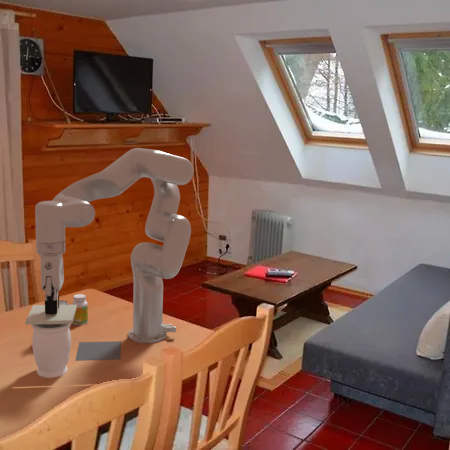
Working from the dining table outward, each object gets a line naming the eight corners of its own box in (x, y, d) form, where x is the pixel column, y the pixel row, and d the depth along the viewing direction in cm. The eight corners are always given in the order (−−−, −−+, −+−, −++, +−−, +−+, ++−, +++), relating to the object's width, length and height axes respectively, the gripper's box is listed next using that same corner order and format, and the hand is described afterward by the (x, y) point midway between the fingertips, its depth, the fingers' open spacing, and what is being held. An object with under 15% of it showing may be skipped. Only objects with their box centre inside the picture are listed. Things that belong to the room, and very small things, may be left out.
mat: (121, 342, 180) (121, 341, 180) (120, 360, 167) (120, 359, 167) (79, 343, 178) (79, 342, 178) (75, 361, 165) (75, 360, 165)
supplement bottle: (84, 326, 191) (83, 299, 189) (69, 324, 192) (68, 297, 190) (90, 320, 196) (90, 294, 194) (75, 318, 197) (75, 292, 195)
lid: (76, 307, 162) (76, 284, 161) (72, 323, 151) (71, 299, 149) (33, 308, 160) (32, 285, 159) (25, 324, 149) (24, 299, 147)
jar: (26, 370, 158) (24, 320, 155) (59, 360, 166) (59, 312, 162) (44, 384, 151) (43, 332, 148) (78, 373, 158) (78, 323, 155)
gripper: (61, 255, 144) (62, 322, 148) (68, 239, 160) (69, 300, 164) (31, 255, 143) (33, 322, 147) (41, 239, 159) (42, 301, 162)
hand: (52, 310), depth 155 cm, fingers closed on lid, 3 cm apart
